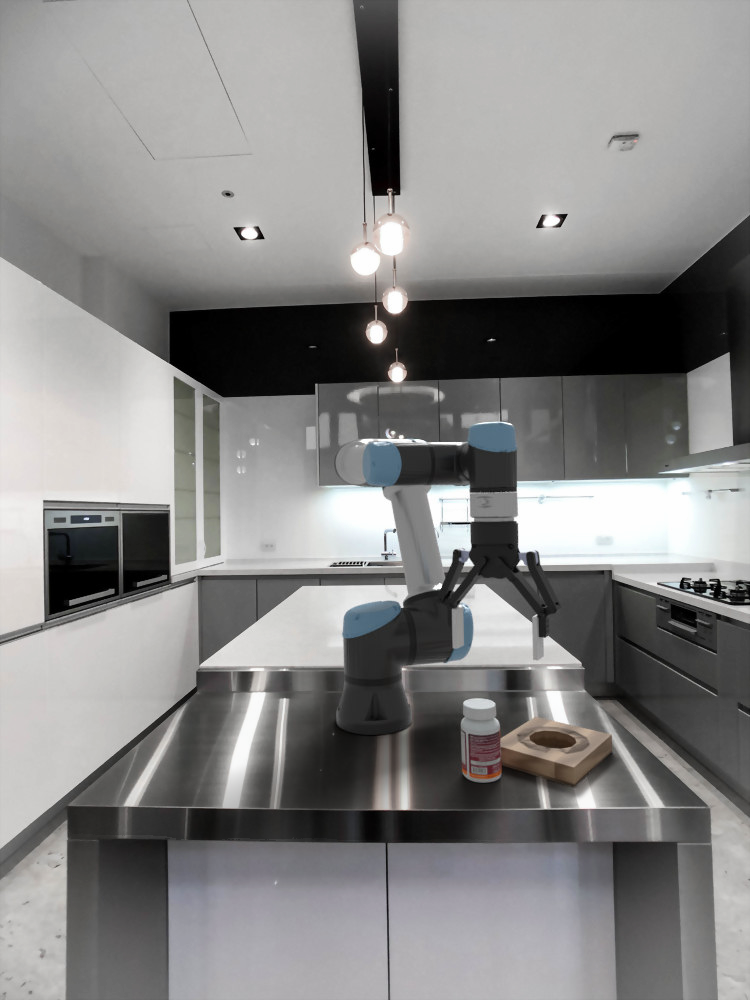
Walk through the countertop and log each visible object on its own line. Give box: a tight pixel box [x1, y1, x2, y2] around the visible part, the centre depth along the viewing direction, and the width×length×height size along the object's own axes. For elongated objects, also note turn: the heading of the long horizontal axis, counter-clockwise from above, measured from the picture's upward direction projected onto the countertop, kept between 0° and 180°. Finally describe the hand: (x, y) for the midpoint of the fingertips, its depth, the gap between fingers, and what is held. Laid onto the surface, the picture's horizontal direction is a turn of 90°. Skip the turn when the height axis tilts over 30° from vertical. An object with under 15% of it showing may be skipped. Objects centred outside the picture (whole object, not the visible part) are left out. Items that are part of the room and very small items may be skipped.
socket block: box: [500, 716, 613, 788], centre depth 97 cm, size 14×16×3 cm
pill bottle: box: [460, 697, 502, 784], centre depth 91 cm, size 6×6×11 cm
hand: (496, 652), depth 92 cm, fingers open, 13 cm apart
